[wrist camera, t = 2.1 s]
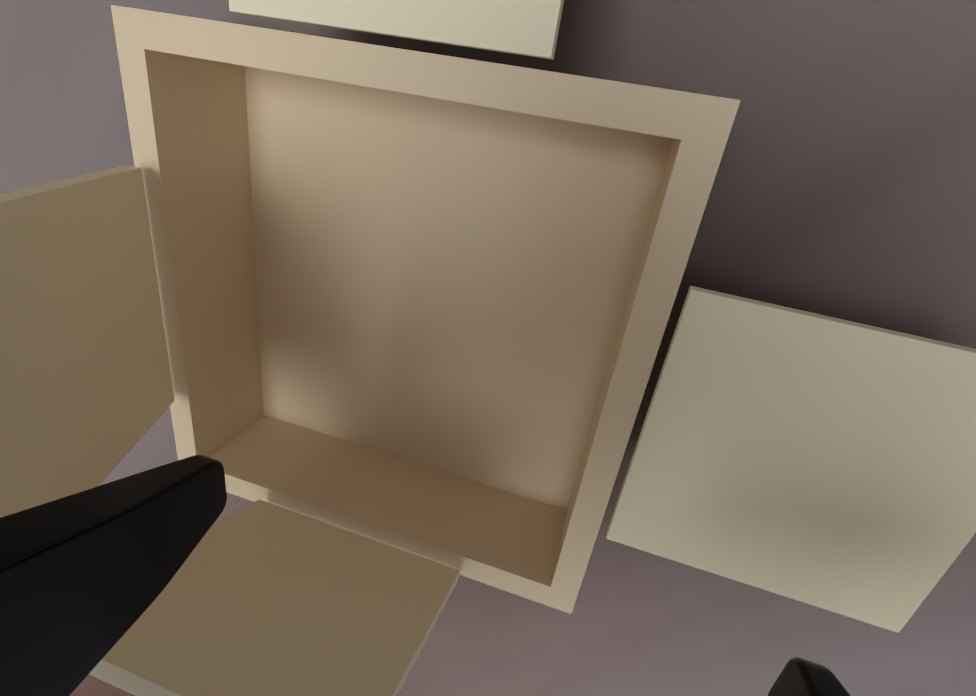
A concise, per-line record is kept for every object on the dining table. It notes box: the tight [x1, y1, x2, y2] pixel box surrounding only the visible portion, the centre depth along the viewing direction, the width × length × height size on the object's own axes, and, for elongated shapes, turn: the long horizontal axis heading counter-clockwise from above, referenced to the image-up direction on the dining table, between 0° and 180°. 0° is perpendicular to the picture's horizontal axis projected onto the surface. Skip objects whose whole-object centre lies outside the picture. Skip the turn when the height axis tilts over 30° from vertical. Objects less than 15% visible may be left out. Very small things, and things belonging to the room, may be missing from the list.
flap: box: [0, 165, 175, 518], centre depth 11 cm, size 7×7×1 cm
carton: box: [111, 0, 976, 633], centre depth 13 cm, size 21×21×4 cm
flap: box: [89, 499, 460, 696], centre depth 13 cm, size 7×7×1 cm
